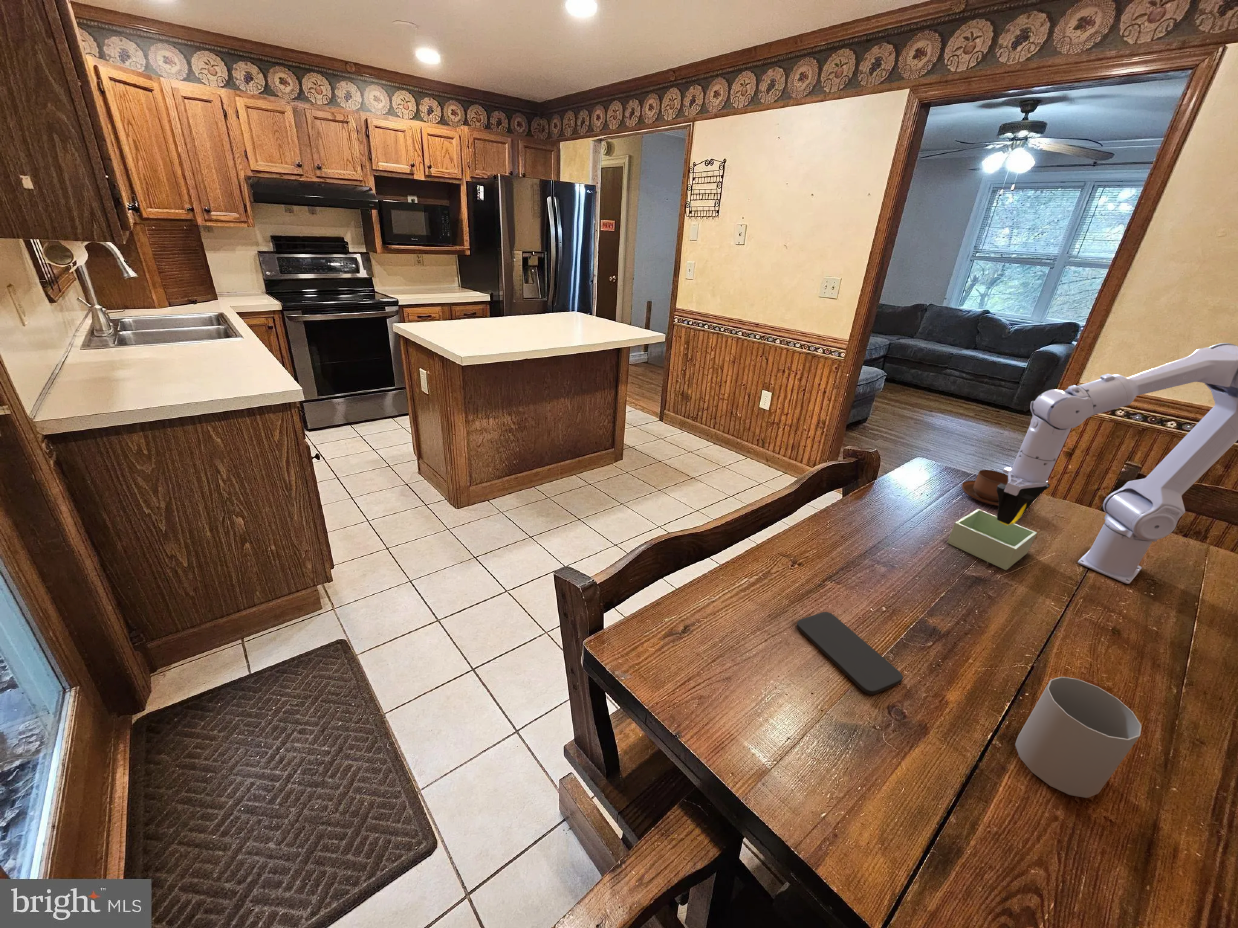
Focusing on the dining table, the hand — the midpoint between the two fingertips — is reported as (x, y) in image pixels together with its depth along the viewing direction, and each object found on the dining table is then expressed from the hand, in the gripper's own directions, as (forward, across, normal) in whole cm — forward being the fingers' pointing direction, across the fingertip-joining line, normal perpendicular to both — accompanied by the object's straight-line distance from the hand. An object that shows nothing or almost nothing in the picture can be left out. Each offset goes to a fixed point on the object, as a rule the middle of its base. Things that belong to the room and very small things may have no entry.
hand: (1010, 517), depth 101 cm
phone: (+8, +52, -1) cm, 52 cm away
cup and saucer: (+9, -25, -11) cm, 29 cm away
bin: (+8, 0, -2) cm, 9 cm away
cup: (+9, +46, +24) cm, 52 cm away
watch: (+2, 0, 0) cm, 2 cm away
